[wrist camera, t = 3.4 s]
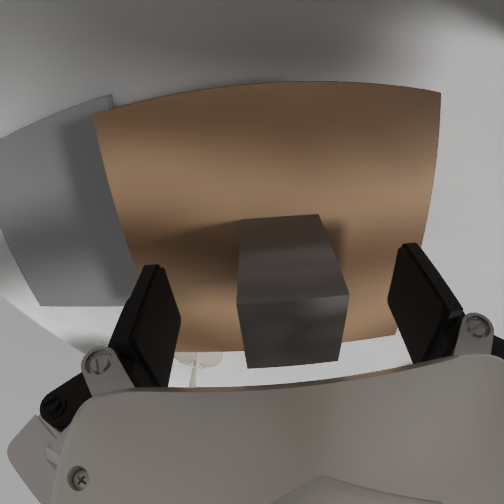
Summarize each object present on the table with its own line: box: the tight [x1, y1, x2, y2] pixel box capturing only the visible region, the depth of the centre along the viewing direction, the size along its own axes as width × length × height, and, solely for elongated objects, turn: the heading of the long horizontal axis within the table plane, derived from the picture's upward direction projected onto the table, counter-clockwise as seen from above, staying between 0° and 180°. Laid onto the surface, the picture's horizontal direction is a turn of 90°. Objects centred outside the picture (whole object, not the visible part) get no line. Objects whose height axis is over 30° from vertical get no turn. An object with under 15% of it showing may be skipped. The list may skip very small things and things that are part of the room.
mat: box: [0, 95, 139, 306], centre depth 19 cm, size 16×14×1 cm
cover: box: [93, 81, 441, 368], centre depth 12 cm, size 14×14×6 cm
